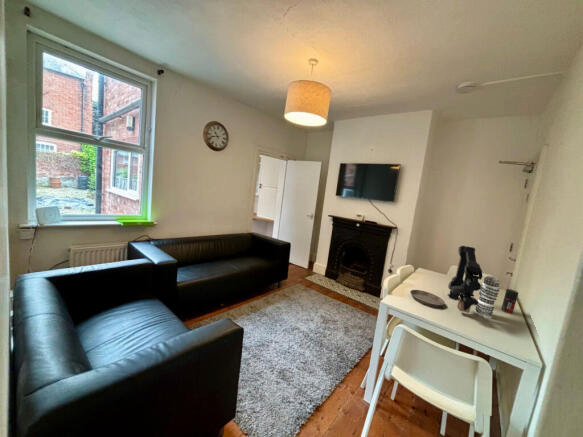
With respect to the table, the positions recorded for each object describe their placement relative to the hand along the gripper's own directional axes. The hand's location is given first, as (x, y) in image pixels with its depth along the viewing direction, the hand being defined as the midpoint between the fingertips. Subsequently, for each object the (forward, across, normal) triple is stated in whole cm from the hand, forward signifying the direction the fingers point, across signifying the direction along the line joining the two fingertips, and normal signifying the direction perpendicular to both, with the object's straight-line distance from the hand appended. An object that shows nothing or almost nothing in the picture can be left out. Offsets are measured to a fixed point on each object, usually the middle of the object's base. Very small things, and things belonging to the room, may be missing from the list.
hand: (463, 308), depth 143 cm
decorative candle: (+4, -9, +14) cm, 17 cm away
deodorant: (+4, -26, +33) cm, 42 cm away
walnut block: (+1, 0, 0) cm, 1 cm away
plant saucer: (+5, -7, -19) cm, 21 cm away
